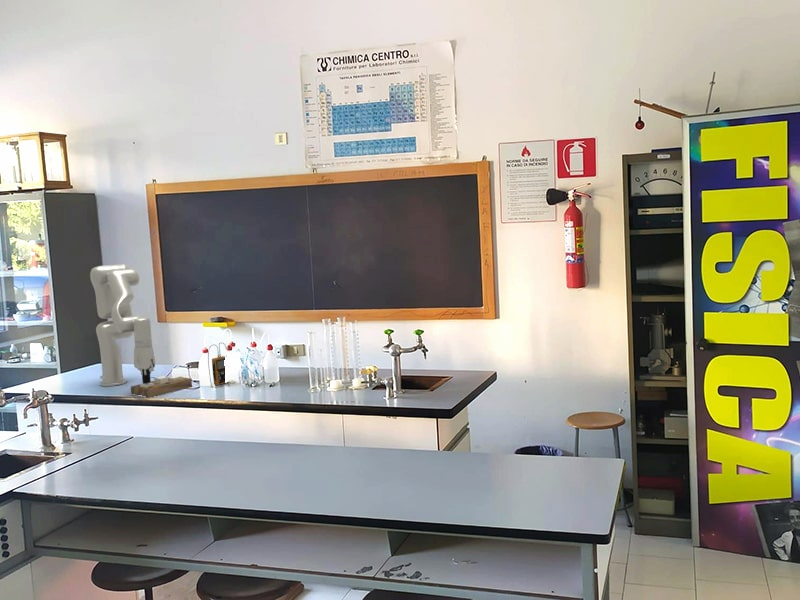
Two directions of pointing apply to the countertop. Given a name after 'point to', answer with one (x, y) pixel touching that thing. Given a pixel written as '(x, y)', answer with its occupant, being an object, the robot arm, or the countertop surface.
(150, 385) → the button
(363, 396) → the countertop surface
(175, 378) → the button
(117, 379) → the robot arm
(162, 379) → the middle button
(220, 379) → the multimeter
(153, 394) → the button board
